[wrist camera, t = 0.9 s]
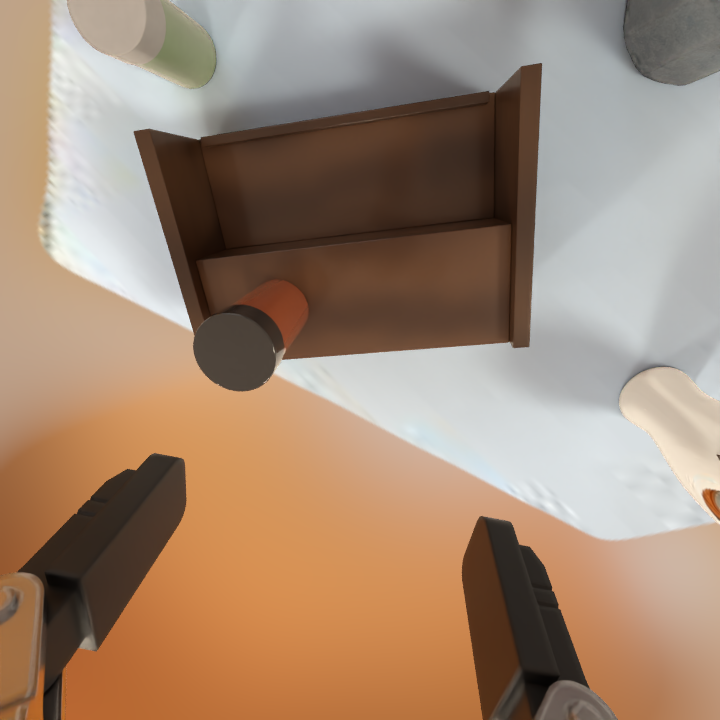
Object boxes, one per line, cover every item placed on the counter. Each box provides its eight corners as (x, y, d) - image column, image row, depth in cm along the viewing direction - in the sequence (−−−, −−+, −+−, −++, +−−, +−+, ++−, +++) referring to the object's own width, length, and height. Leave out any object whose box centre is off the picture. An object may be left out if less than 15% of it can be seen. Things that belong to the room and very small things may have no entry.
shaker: (151, 23, 29) (51, -41, 21) (208, 11, 28) (129, -60, 20) (170, 95, 31) (84, 62, 22) (224, 85, 30) (157, 47, 22)
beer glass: (679, 347, 34) (863, 454, 21) (709, 406, 36) (894, 540, 23) (600, 386, 37) (718, 507, 23) (631, 440, 38) (757, 582, 25)
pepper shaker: (242, 281, 27) (182, 317, 19) (304, 274, 26) (265, 309, 19) (256, 340, 28) (205, 394, 21) (315, 335, 28) (283, 389, 20)
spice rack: (210, 146, 32) (132, 131, 23) (498, 101, 29) (542, 62, 20) (253, 325, 38) (204, 371, 28) (496, 304, 34) (529, 347, 25)
